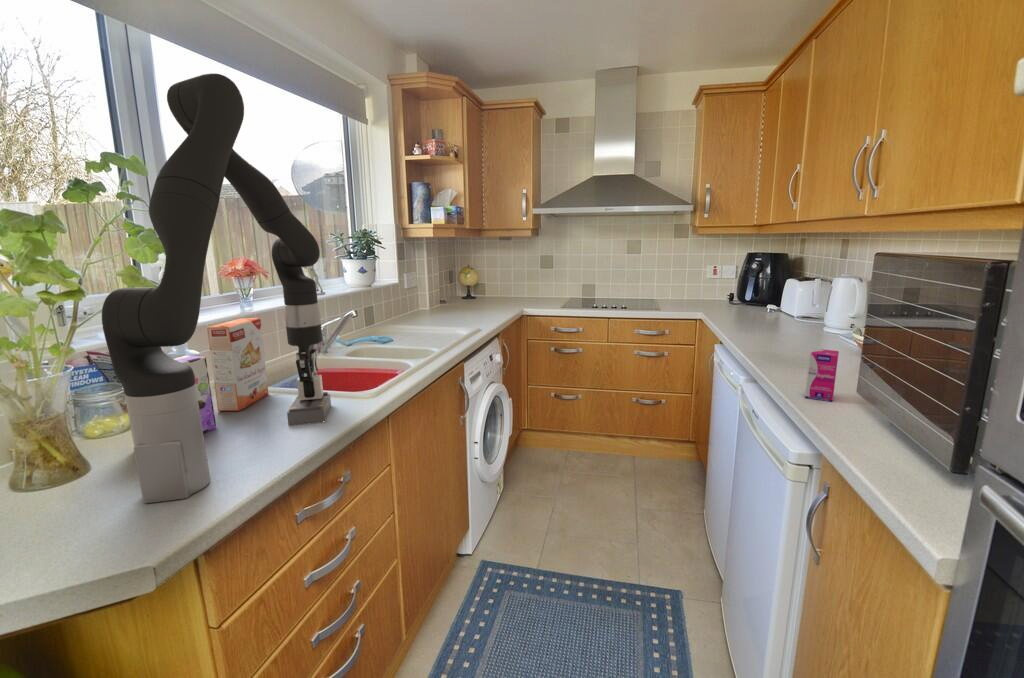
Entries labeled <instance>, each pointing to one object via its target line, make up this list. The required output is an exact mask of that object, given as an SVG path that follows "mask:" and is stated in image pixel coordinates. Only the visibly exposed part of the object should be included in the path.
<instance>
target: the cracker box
mask: <svg viewBox="0 0 1024 678" xmlns="http://www.w3.org/2000/svg"><path fill="white" fill-rule="evenodd" d="M206 330H207V331H206V332H207V338H208V346H209V355H210V361H211V362H210V363H211V367H212V368H211V370H212V375H213V383H214V384H213V385H214V392H215V401H216V405H217V411H218V412H219V411H220V412H240V411H242V410H243V409H245V408H247V407H249V406H250V405H252V404H254V403H255V402H257V401H259V400H261V399H262V398H264V397H266V396H267V395H269V387H268V378H267V369H266V368H267V366H266V359H265V358H266V357H265V351H264V350H265V349H264V339H263V332H262V330H263V329H262V321H261V318H259V317H246V318H245V317H243V318H241V317H240V318H237V319H233V320H230V321H225V322H221V323H217V324H214V325H210V326H207V327H206Z"/></svg>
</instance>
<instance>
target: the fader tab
mask: <svg viewBox="0 0 1024 678" xmlns="http://www.w3.org/2000/svg"><path fill="white" fill-rule="evenodd" d="M313 378H314V391H315V396H314V397H310V398H306V397H305V396H304V388H303V383H302V382H300V380H299V377H297V378H296V383H297V393H298V394H297V395H299V400H310V399H321V398H322V397H323V392H324V387H323V377H322V374H317V375H313Z"/></svg>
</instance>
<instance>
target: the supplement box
mask: <svg viewBox="0 0 1024 678" xmlns="http://www.w3.org/2000/svg"><path fill="white" fill-rule="evenodd" d="M839 353H840V352H839V350H833V349H832V350H831V349H822V348H813V347H812V348H811V349H810V352H809V358H808V366H807V374H806V375H807V376H806V383H805V390H804V391H805V393H804V398H805V399H813V400H817V401H825V402H830V403H831V402H833V399H834V393H835V386H836V385H835V383H836V377H837V376H836V375H837V369H838V368H837V367H838V362H839Z"/></svg>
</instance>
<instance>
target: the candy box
mask: <svg viewBox="0 0 1024 678" xmlns="http://www.w3.org/2000/svg"><path fill="white" fill-rule="evenodd" d="M173 359H174V360H176V361H178V362H181V363H184V364H187V365H189V366H190V367H191V368H192V370H193V372H194V378H195V384H196V391H197V397H198V404H199V411H200V417H201V423H202V430H203V434H204V433H208V432H211V431H212V430H215V429H216V428H217V423H216V416H215V409H214V403H213V398H212V390H211V384H210V377H209V376H210V375H209V371H208V363H207V358H206V356H201V355H199V356H198V355H183V356H182V355H181V356H179V357H175V358H173Z"/></svg>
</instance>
